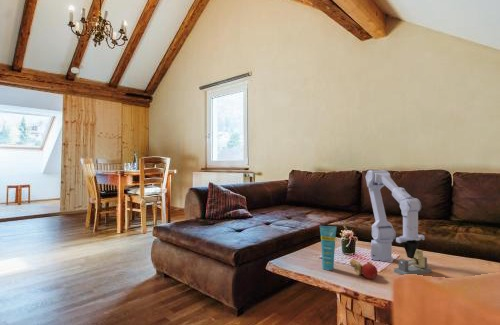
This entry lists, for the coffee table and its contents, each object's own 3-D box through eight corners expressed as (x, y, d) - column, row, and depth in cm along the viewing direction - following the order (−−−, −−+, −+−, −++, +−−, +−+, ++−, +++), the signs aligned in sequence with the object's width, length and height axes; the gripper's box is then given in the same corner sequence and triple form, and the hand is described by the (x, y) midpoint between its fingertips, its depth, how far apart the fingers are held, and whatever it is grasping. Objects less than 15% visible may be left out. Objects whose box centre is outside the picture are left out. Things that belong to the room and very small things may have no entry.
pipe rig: (405, 276, 122) (405, 262, 121) (394, 271, 127) (394, 258, 127) (431, 272, 127) (431, 258, 127) (419, 267, 132) (419, 254, 132)
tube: (319, 269, 130) (319, 226, 130) (320, 265, 135) (319, 224, 135) (336, 271, 128) (336, 227, 128) (336, 267, 133) (336, 225, 133)
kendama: (343, 269, 135) (363, 279, 117) (345, 255, 136) (364, 262, 118) (359, 271, 135) (381, 281, 118) (360, 257, 136) (382, 265, 119)
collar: (420, 268, 125) (420, 251, 125) (411, 264, 130) (411, 248, 130) (424, 267, 126) (424, 251, 126) (415, 263, 131) (415, 248, 131)
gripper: (405, 229, 120) (405, 262, 120) (430, 226, 125) (430, 258, 125) (391, 226, 127) (391, 257, 127) (416, 223, 132) (416, 253, 132)
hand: (410, 257), depth 126 cm, fingers closed
